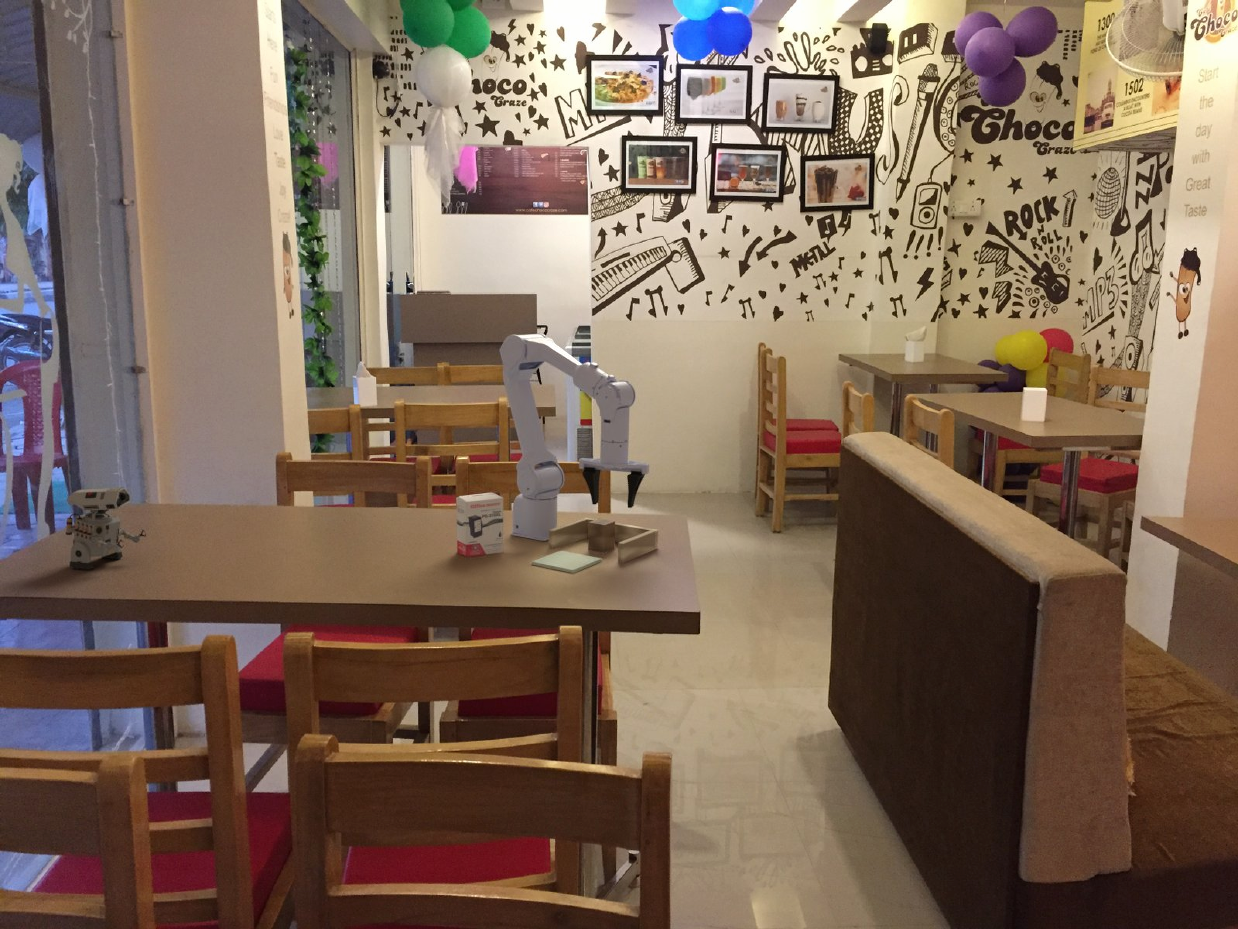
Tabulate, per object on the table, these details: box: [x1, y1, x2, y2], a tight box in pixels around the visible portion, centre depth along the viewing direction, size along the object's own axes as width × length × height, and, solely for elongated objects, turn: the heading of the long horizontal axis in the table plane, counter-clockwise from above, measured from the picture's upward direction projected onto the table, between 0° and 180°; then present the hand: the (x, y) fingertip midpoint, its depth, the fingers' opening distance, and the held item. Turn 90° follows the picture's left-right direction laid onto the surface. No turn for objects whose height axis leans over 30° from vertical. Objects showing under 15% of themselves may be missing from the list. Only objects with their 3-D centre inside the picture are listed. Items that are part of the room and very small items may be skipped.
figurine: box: [65, 487, 147, 571], centre depth 192 cm, size 9×12×15 cm
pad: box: [531, 550, 603, 574], centre depth 200 cm, size 10×10×1 cm
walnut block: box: [587, 518, 616, 554], centre depth 210 cm, size 4×4×6 cm
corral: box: [548, 517, 659, 564], centre depth 210 cm, size 18×14×4 cm
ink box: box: [455, 492, 504, 558], centre depth 205 cm, size 8×5×12 cm, turn 123°
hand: (612, 505), depth 207 cm, fingers open, 7 cm apart
